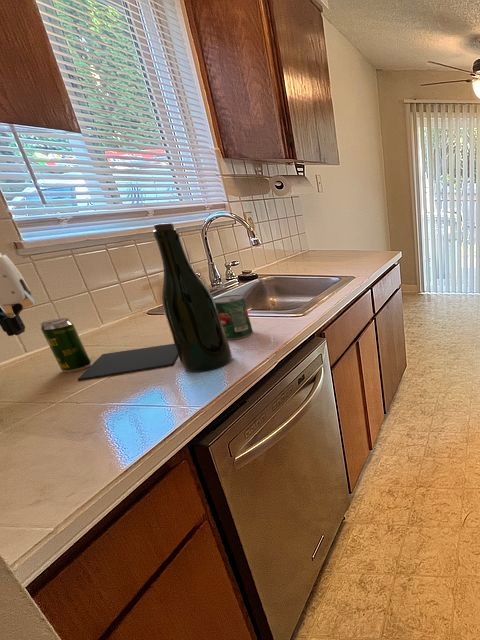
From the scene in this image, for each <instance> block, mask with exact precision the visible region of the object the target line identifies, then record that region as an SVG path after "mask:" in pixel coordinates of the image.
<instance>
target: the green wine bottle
mask: <svg viewBox="0 0 480 640" xmlns="http://www.w3.org/2000/svg"><path fill="white" fill-rule="evenodd" d="M153 227H154V230H153V237H154V239H155V241H156V243H157V244H156V245H157V247H158V250H159V253H160V257H161V261H162V269H163V281H162V282H163V283H162V287H161V288H162V289H161V303H162V308H163V313H164V317H165V319H166V322H167V325H168V328H169V332H170V334H171V337H172V341H173V344H175V347H176V350H177V353H178V359H179V361H180V364H181V366H182V369H184V370H186V371H189V372H196V373H197V372H206V371H212V370H214V369H218V368H221V367H224V366H225V365H227V364H228V363H230V362H231V360H232V359H233V354H232V351H231V347H230V344H229V340H227V337H226V334H225V331H224V328H223V325H222V322H221V319H220V316H219V313H218V310H217V307H216V304H215V302H214V299H215V298H214V296H213V295H212V293H211V291H210V289H209V288H208V287H207V285H206V284H205V283H204V281H202V279H201V278H200V277H199V275H198V274H197V273H196V271H195V270H194V268H193V267H192V265H191V263H190V261H189V258H188V256H187V254H186V252H185V249H184V247H183V243H182V241H181V238H180V237H181V235H180V232H179V231H178V230H177V229H176V228H175V226H174V223H171V222H168V223H167V222H162V223H161V222H160V223H155V224H153Z"/></svg>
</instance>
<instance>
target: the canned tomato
mask: <svg viewBox="0 0 480 640" xmlns="http://www.w3.org/2000/svg"><path fill="white" fill-rule="evenodd" d="M213 299H214V302H215V304H216V307H217V310H218V313H219V316H220V319H221V322H222V325H223V328H224V331H225V334H226V337H227V340H228V341H233V340H239V339H244V338H247V337H249V336H252V335H253V333H254V330H253V326H252V323H251V320H250V315H249V312H248V308H247V304H246V301H245V297H244V295H242V294H229V295H223V296H222V295H221V296H218V297H215V298H213Z"/></svg>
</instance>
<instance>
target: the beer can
mask: <svg viewBox="0 0 480 640" xmlns="http://www.w3.org/2000/svg"><path fill="white" fill-rule="evenodd" d="M40 330H41V332H42V333H43V337H44V338H45V340H46V342H47V344H48V346H49V348H50V350H51V353H52V354H53V356H54V358H55V360H56V362H57V364H58V366H59V368H60V370H61V371H63V372H64V373H76V372H80V371H83V370H84V371H85V369H86V370H87V369H88V368H89V367H90V366H91V365H92V362H91V359H90V357H89V355H88V352H87V351H86V348H85V346H84V344H83V342H82V340H81V338H80V336H79V334H78V332H77V329H76V327H75V325H74V323H73V321H72V320H71V319H70V318H69V317H60V318H54V319H49V320H46V321H43V322H40Z"/></svg>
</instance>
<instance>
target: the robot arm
mask: <svg viewBox="0 0 480 640" xmlns="http://www.w3.org/2000/svg"><path fill="white" fill-rule="evenodd" d="M36 302H37V301H36V300H35V299H34V298H33V296H32V292H31V289H30V287H29V285H28V283H27V282H26V280H25V279H24V276H23V275H22V274H21V272H20V270H18V268H17V266H16V265H15V263H14V262H13V261H12V260H11V259H10V258H9V257H8V255H7V254H2V252H0V327H1V329H2V331H3V332H5V333H6V334H7V336H8V337H11V336H12V337H13V336H19V335H21V334H23V333H25V332H26V326H25V324H24V322H23V320H22V318H21V316H20V314H21V312H22V311H23V309H25V308H27V307H32V306H33V305H36Z"/></svg>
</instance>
